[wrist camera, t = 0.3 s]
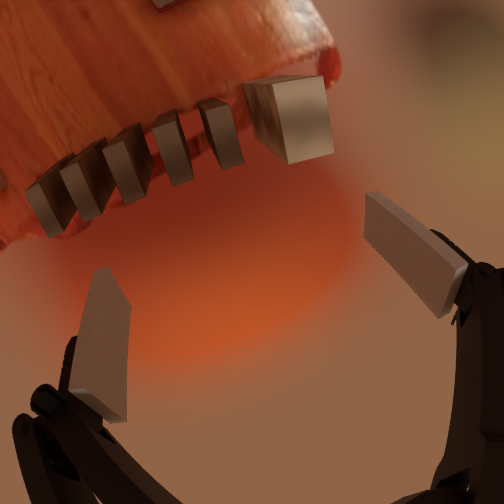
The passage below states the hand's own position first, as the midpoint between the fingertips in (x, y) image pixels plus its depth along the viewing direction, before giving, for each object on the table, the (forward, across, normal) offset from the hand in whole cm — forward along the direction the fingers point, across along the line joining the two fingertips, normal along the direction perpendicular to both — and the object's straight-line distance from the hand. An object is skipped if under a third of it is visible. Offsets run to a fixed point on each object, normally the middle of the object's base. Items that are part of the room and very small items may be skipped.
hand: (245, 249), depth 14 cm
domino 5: (+27, +2, +2) cm, 27 cm away
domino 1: (+27, -18, +1) cm, 33 cm away
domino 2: (+27, -13, +1) cm, 30 cm away
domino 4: (+27, -3, +2) cm, 28 cm away
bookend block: (+27, +10, +2) cm, 29 cm away
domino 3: (+27, -8, +1) cm, 29 cm away
